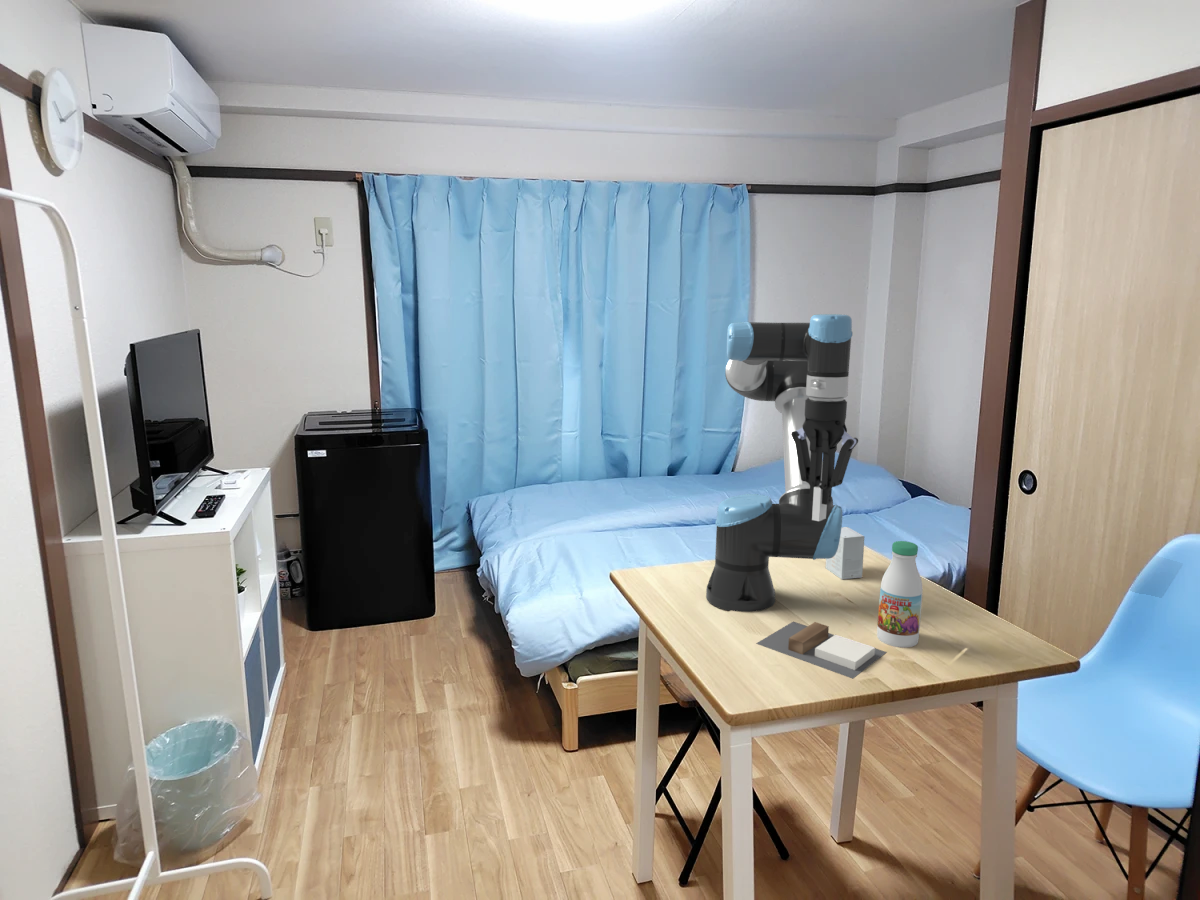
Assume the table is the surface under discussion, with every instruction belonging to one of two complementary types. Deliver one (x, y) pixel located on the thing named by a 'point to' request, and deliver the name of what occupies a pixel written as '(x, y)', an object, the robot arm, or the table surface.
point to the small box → (848, 555)
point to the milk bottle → (900, 598)
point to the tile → (845, 652)
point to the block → (808, 638)
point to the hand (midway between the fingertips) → (818, 519)
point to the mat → (811, 651)
